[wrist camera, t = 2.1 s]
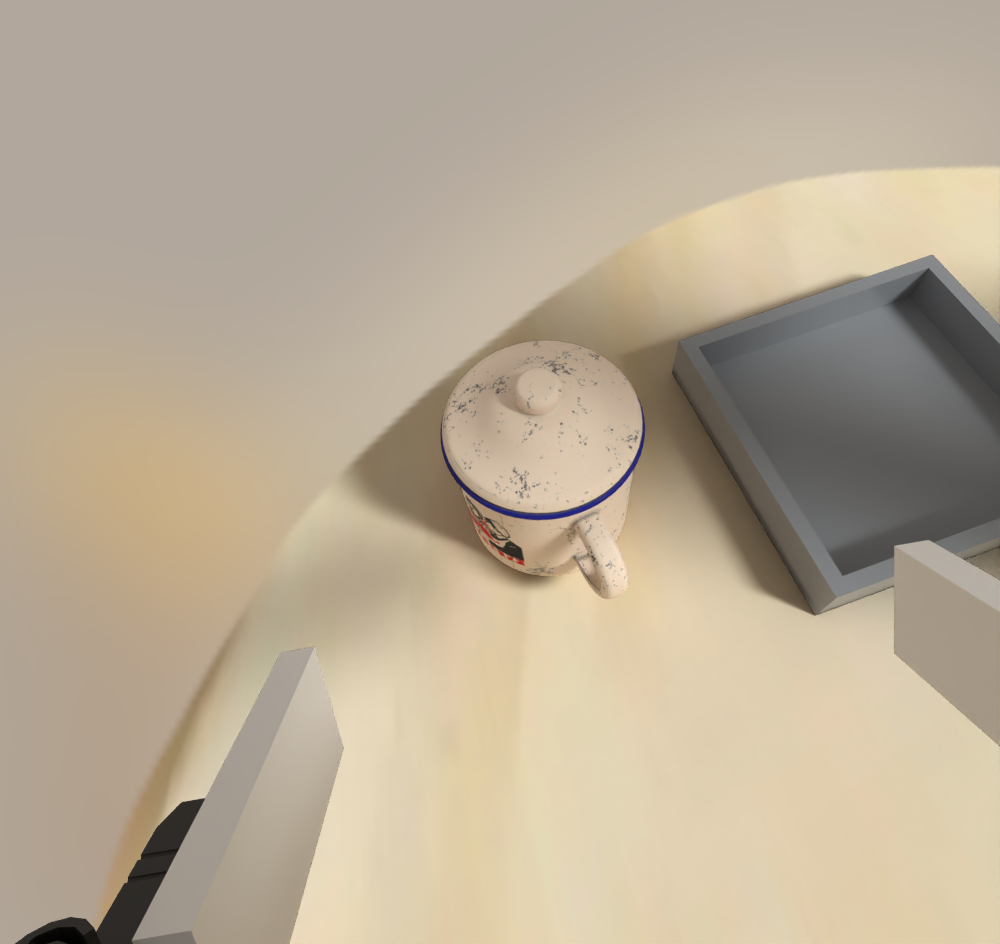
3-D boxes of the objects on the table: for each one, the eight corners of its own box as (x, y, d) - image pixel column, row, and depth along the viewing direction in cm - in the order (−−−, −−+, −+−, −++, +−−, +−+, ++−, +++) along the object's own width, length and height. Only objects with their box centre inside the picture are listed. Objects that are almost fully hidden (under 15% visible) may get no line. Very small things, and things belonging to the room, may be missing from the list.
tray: (909, 290, 41) (932, 254, 38) (1102, 508, 33) (1148, 481, 30) (672, 372, 40) (678, 341, 37) (815, 615, 32) (836, 597, 29)
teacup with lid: (444, 474, 38) (395, 348, 28) (583, 412, 39) (585, 269, 29) (532, 663, 32) (511, 593, 22) (691, 585, 33) (741, 485, 23)
